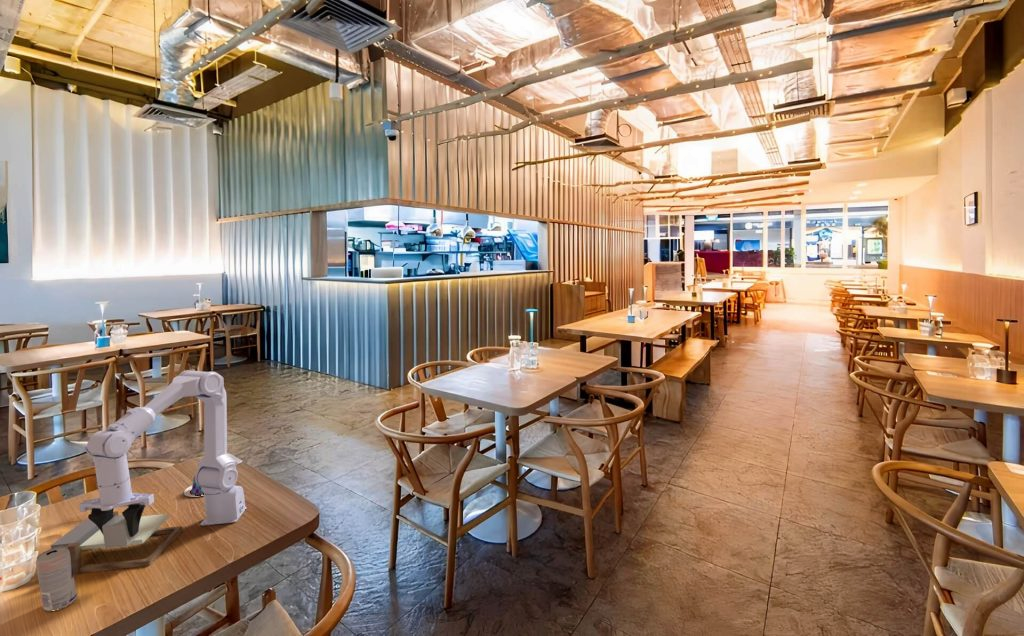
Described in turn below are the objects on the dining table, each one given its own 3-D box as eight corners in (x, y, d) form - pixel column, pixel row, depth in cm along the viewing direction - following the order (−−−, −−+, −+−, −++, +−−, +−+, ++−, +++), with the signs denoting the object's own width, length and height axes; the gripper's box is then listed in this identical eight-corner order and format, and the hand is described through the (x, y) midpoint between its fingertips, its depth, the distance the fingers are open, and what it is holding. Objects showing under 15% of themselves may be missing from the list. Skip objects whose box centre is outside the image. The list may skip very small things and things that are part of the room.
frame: (183, 529, 132) (179, 505, 131) (149, 565, 117) (145, 538, 116) (88, 539, 128) (84, 514, 127) (40, 577, 113) (36, 550, 112)
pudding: (179, 490, 155) (177, 475, 155) (221, 477, 164) (219, 463, 163) (189, 503, 147) (187, 487, 146) (232, 488, 156) (230, 473, 155)
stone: (139, 534, 114) (136, 513, 114) (127, 545, 110) (124, 524, 109) (118, 536, 114) (115, 515, 113) (105, 548, 109) (102, 526, 108)
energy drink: (74, 591, 108) (66, 542, 106) (79, 601, 105) (71, 551, 103) (42, 605, 104) (33, 554, 102) (45, 616, 101) (36, 564, 99)
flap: (169, 519, 129) (168, 511, 129) (142, 546, 117) (141, 537, 117) (86, 527, 126) (85, 519, 126) (50, 555, 114) (48, 546, 114)
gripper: (65, 492, 105) (74, 549, 107) (138, 486, 107) (145, 542, 109) (88, 478, 112) (96, 531, 114) (156, 472, 114) (163, 524, 116)
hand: (122, 535), depth 112 cm, fingers closed on stone, 5 cm apart
